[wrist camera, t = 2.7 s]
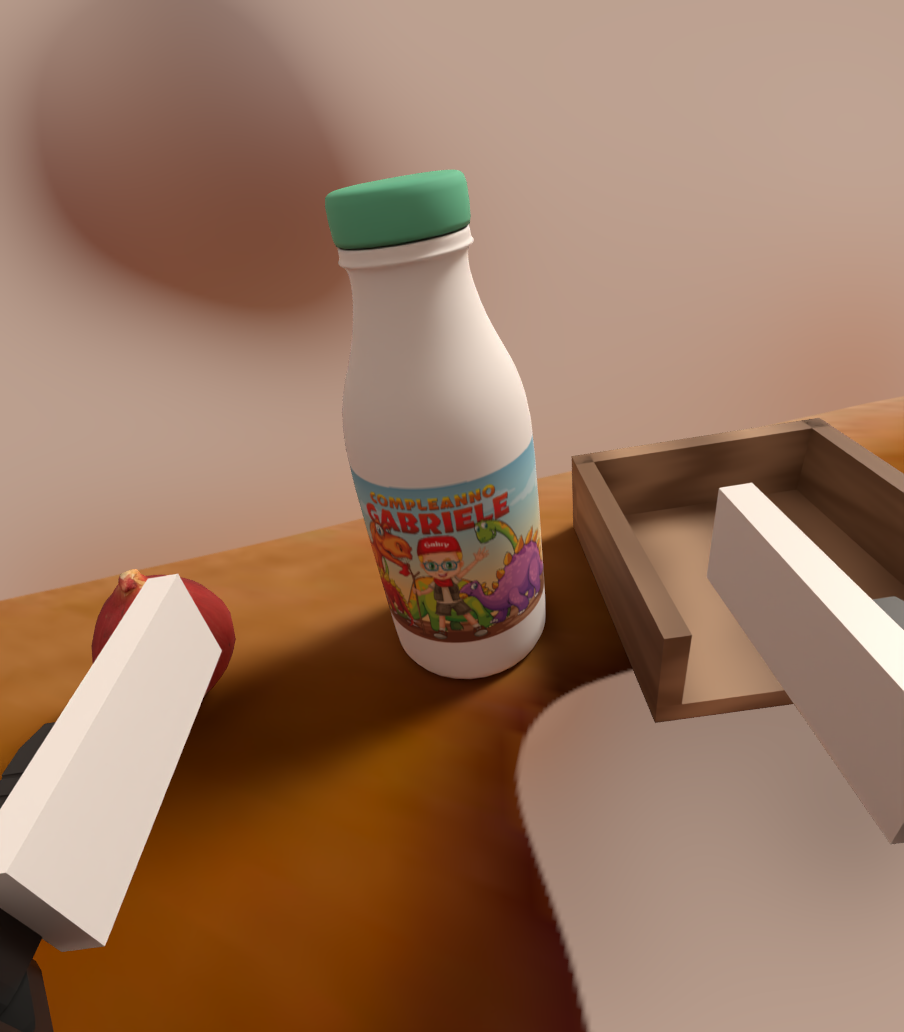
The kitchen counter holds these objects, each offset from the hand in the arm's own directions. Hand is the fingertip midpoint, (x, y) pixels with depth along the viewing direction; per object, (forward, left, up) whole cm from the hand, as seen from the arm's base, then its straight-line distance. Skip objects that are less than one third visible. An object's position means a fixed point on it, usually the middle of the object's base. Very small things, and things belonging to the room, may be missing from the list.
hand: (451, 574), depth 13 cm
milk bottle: (0, +10, -12) cm, 16 cm away
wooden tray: (+14, +10, -12) cm, 21 cm away
